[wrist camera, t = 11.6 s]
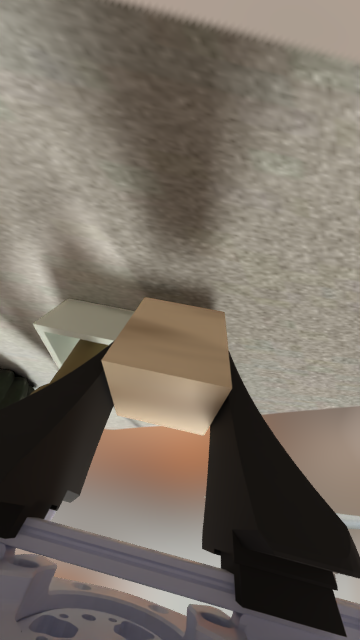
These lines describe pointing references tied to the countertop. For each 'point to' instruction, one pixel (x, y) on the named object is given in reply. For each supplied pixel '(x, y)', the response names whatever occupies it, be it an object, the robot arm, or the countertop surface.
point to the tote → (79, 326)
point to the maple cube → (170, 366)
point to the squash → (12, 388)
